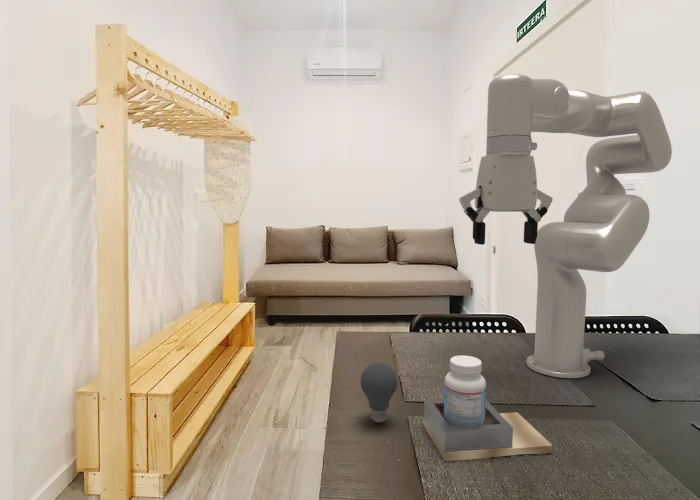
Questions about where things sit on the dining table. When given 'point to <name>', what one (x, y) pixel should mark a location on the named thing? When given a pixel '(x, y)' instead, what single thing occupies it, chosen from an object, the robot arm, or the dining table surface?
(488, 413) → the collar
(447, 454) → the board
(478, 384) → the pill bottle
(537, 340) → the robot arm
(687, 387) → the dining table surface
